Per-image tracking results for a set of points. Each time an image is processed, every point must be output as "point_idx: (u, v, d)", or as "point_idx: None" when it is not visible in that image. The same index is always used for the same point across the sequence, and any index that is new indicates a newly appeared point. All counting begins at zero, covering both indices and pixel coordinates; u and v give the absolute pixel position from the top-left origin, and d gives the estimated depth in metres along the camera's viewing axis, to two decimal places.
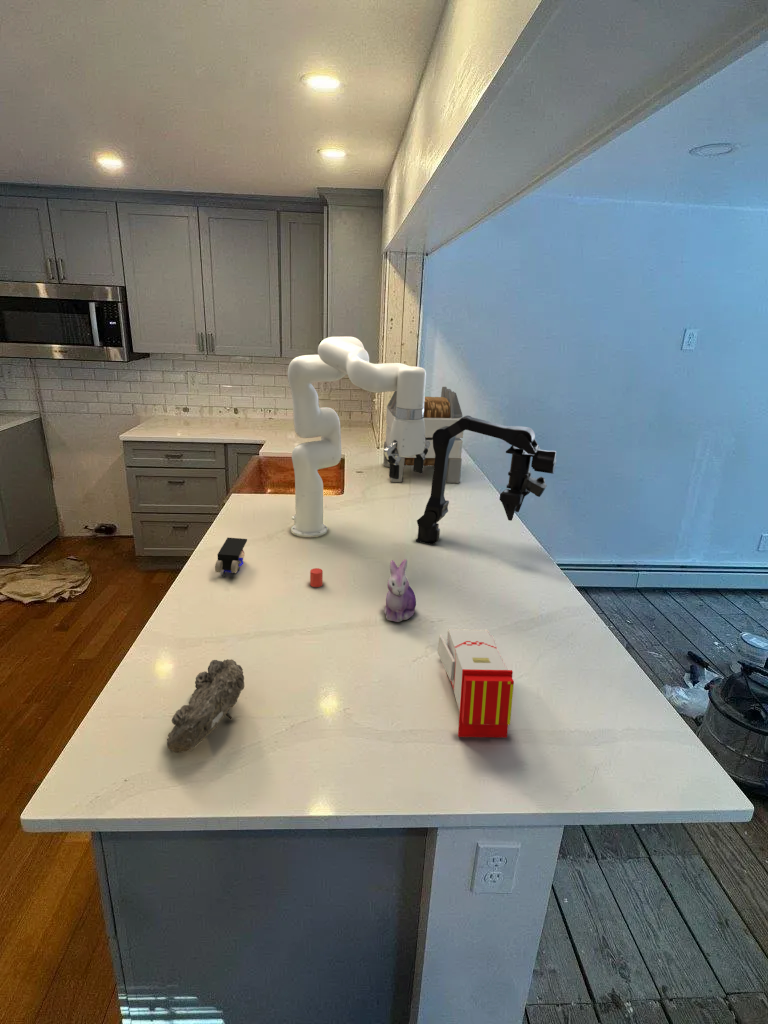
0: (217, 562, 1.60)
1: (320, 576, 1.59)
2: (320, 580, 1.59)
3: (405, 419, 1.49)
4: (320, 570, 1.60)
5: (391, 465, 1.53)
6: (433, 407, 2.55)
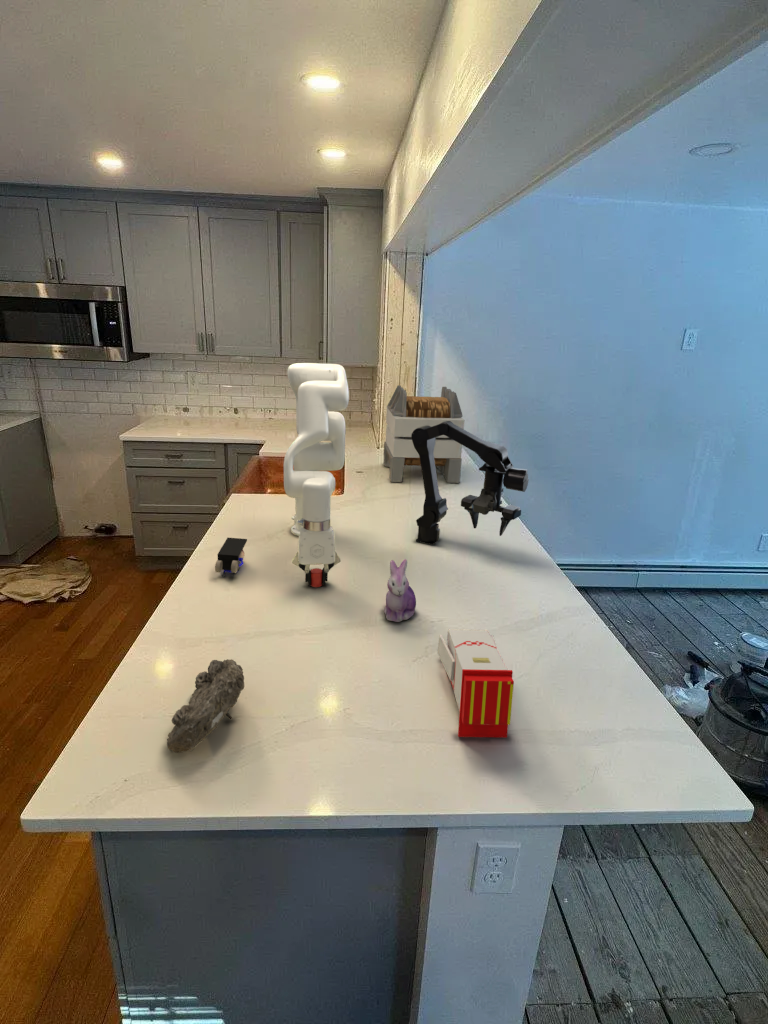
0: (217, 562, 1.60)
1: (320, 576, 1.59)
2: (320, 580, 1.59)
3: None
4: (320, 570, 1.60)
5: None
6: (433, 407, 2.55)
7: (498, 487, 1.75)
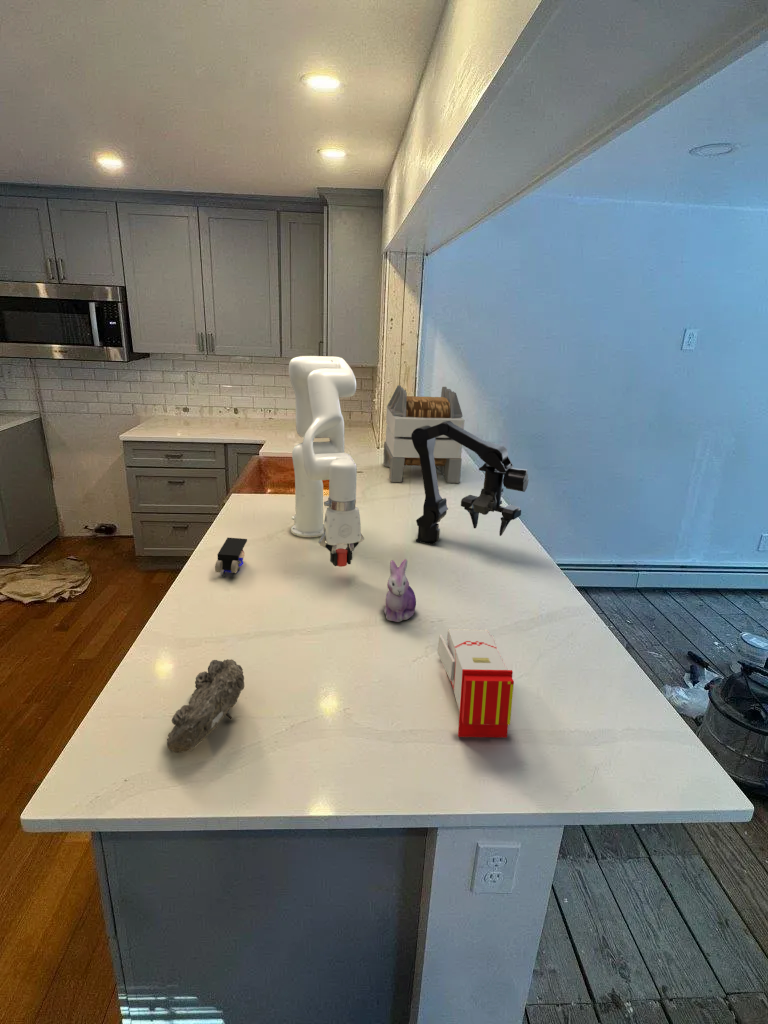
0: (217, 562, 1.60)
1: (346, 555, 1.63)
2: (346, 559, 1.63)
3: None
4: (345, 550, 1.64)
5: None
6: (433, 407, 2.55)
7: (498, 487, 1.75)
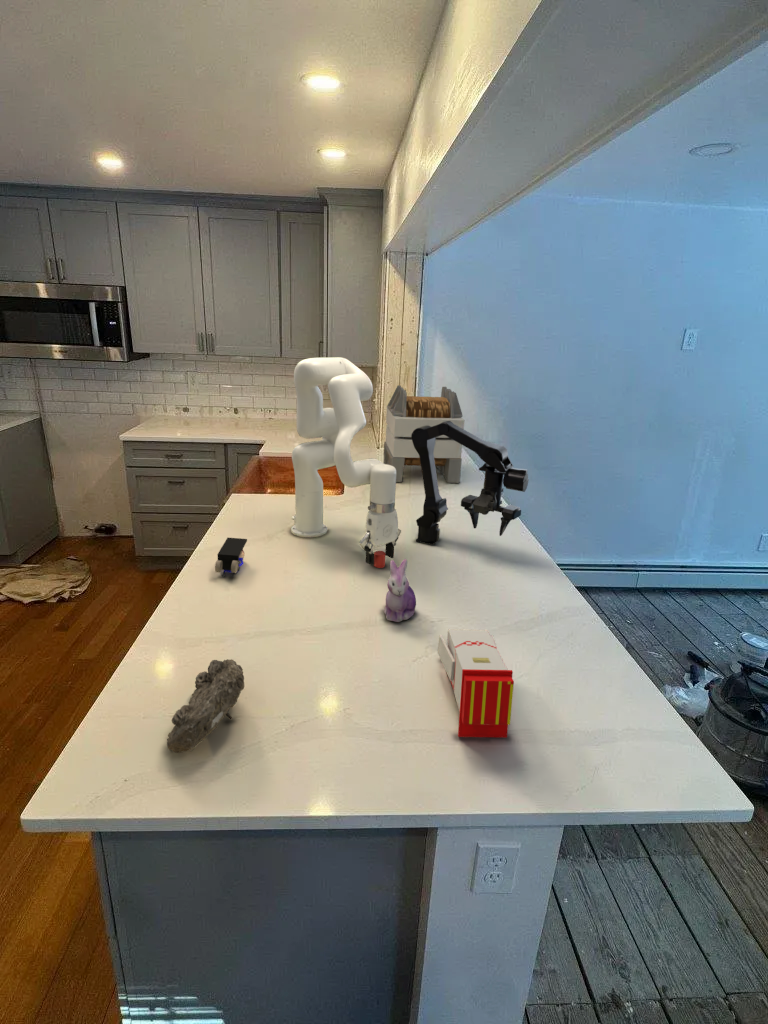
0: (217, 562, 1.60)
1: None
2: None
3: None
4: (382, 551, 1.74)
5: None
6: (433, 407, 2.55)
7: (498, 487, 1.75)
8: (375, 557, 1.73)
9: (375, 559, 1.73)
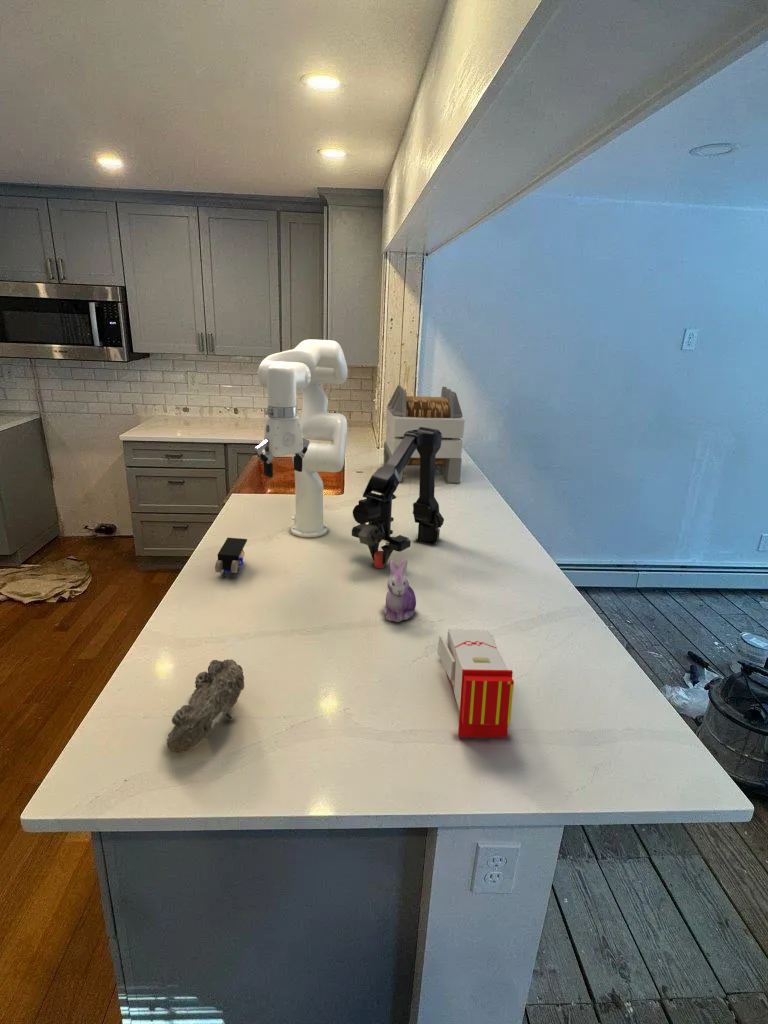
0: (217, 562, 1.60)
1: None
2: None
3: None
4: (382, 551, 1.74)
5: None
6: (433, 407, 2.55)
7: None
8: (375, 557, 1.73)
9: (375, 559, 1.73)
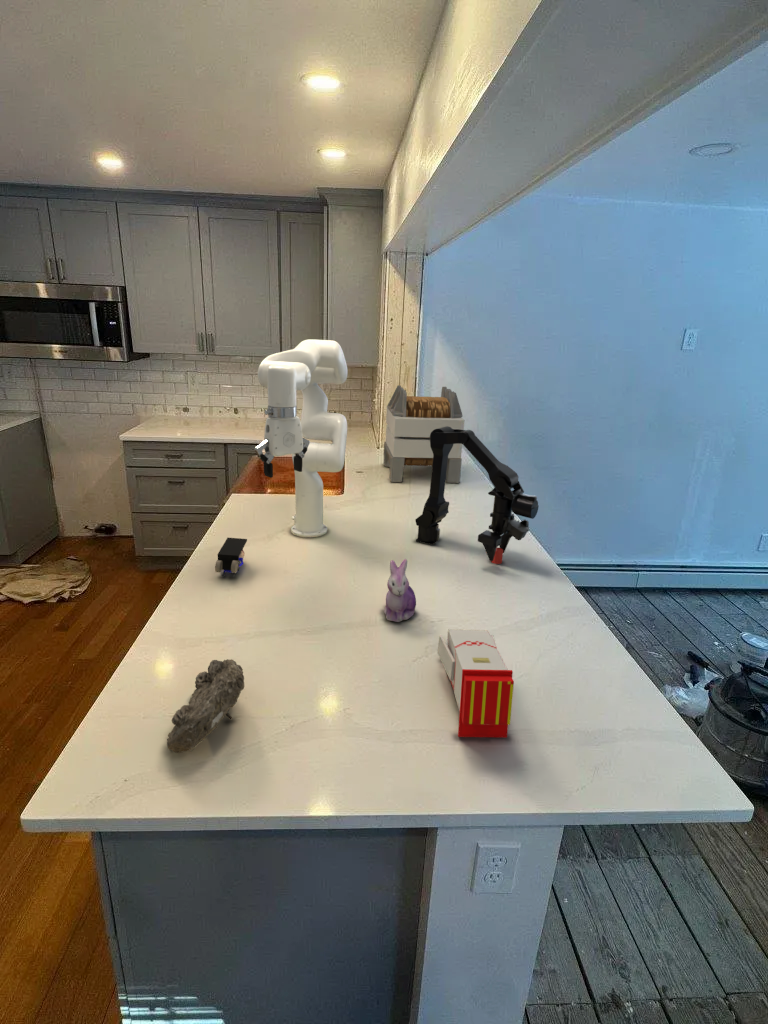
0: (217, 562, 1.60)
1: None
2: None
3: None
4: None
5: None
6: (433, 407, 2.55)
7: (507, 512, 1.73)
8: (501, 554, 1.79)
9: (501, 556, 1.79)
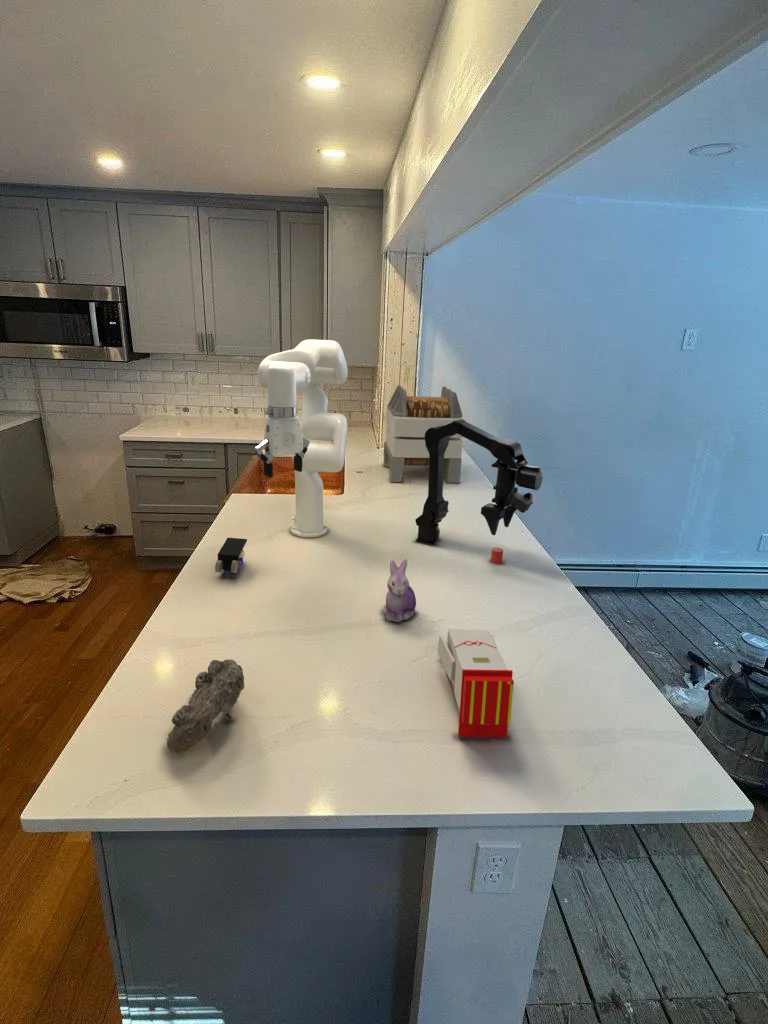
0: (217, 562, 1.60)
1: None
2: None
3: None
4: (494, 548, 1.80)
5: None
6: (433, 407, 2.55)
7: (510, 484, 1.70)
8: (501, 554, 1.79)
9: (501, 556, 1.79)
